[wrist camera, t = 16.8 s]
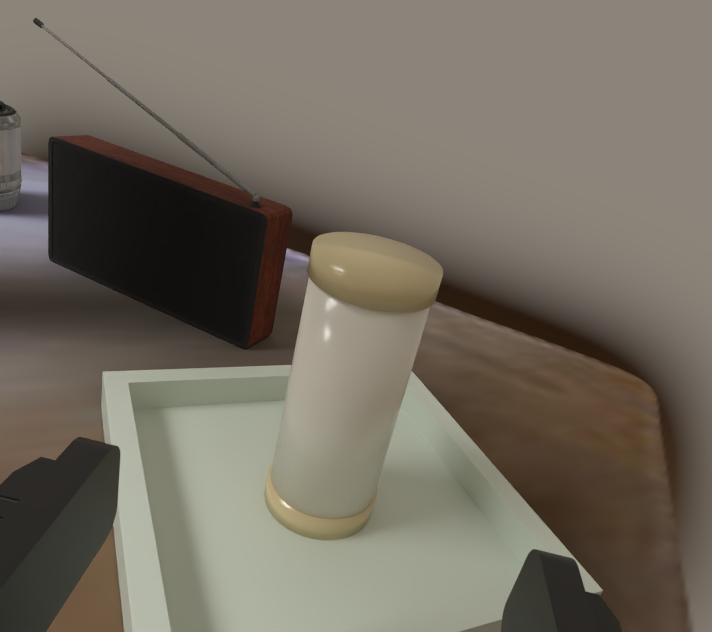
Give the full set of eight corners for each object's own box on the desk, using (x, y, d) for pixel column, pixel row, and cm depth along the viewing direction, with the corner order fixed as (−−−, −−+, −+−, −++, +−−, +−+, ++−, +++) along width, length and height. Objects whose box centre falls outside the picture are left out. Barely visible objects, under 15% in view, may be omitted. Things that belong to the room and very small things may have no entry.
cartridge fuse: (252, 524, 23) (302, 262, 19) (277, 452, 27) (322, 223, 23) (368, 551, 23) (446, 296, 19) (375, 474, 27) (440, 251, 23)
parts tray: (101, 407, 28) (102, 371, 27) (394, 389, 35) (402, 360, 35) (138, 768, 16) (143, 721, 15) (582, 627, 23) (603, 590, 22)
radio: (274, 335, 39) (317, 92, 32) (246, 351, 36) (288, 91, 30) (64, 242, 44) (67, 22, 38) (27, 251, 42) (24, 16, 36)
